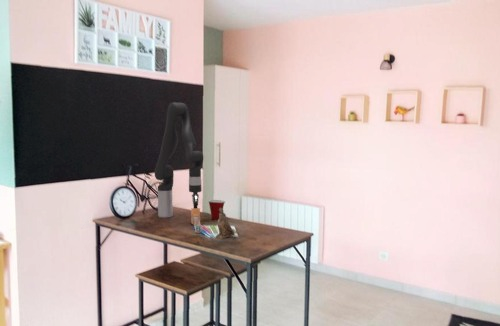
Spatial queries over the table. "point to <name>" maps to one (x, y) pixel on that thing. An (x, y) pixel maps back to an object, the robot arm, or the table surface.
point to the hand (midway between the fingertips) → (195, 212)
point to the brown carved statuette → (224, 226)
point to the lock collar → (195, 213)
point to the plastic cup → (215, 208)
